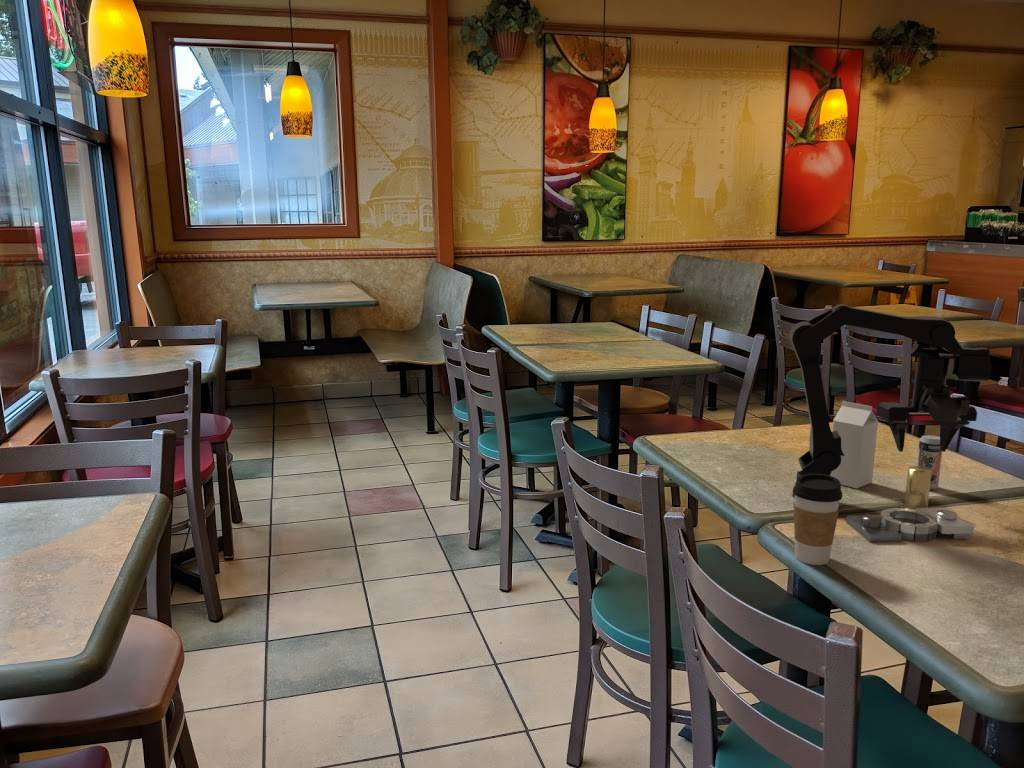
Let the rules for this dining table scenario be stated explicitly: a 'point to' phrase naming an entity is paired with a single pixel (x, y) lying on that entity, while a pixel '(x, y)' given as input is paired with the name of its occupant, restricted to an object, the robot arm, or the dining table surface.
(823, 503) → the coffee cup
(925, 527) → the upper link
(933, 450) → the beer can
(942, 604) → the dining table surface
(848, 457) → the milk carton
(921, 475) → the pin
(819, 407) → the robot arm
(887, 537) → the lower link
